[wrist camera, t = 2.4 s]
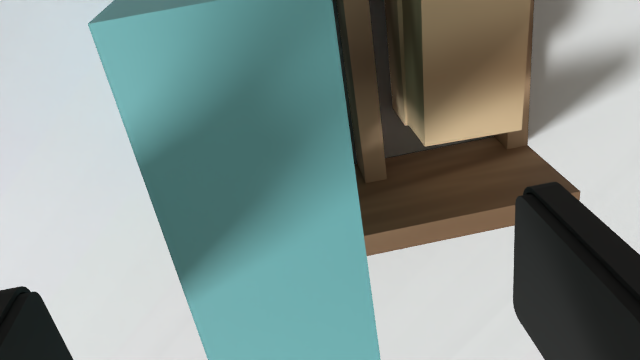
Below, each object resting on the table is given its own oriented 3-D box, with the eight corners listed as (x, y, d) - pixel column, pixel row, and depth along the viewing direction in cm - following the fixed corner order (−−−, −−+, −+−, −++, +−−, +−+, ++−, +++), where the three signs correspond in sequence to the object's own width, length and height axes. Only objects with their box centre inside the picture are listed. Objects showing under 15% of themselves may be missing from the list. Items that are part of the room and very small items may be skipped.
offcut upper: (399, -49, 20) (420, -43, 18) (502, -65, 20) (534, -59, 18) (407, 123, 23) (424, 146, 21) (495, 108, 24) (521, 129, 22)
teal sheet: (174, -54, 21) (87, 23, 9) (275, -72, 21) (329, -20, 9) (232, 169, 26) (230, 420, 14) (314, 153, 26) (384, 386, 14)
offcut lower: (378, -51, 22) (394, -45, 20) (471, -67, 23) (497, -62, 20) (390, 105, 26) (405, 125, 24) (471, 91, 26) (493, 109, 24)
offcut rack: (132, -107, 20) (94, -107, 15) (522, -174, 21) (620, -196, 15) (221, 208, 27) (218, 287, 21) (512, 150, 27) (578, 212, 22)
